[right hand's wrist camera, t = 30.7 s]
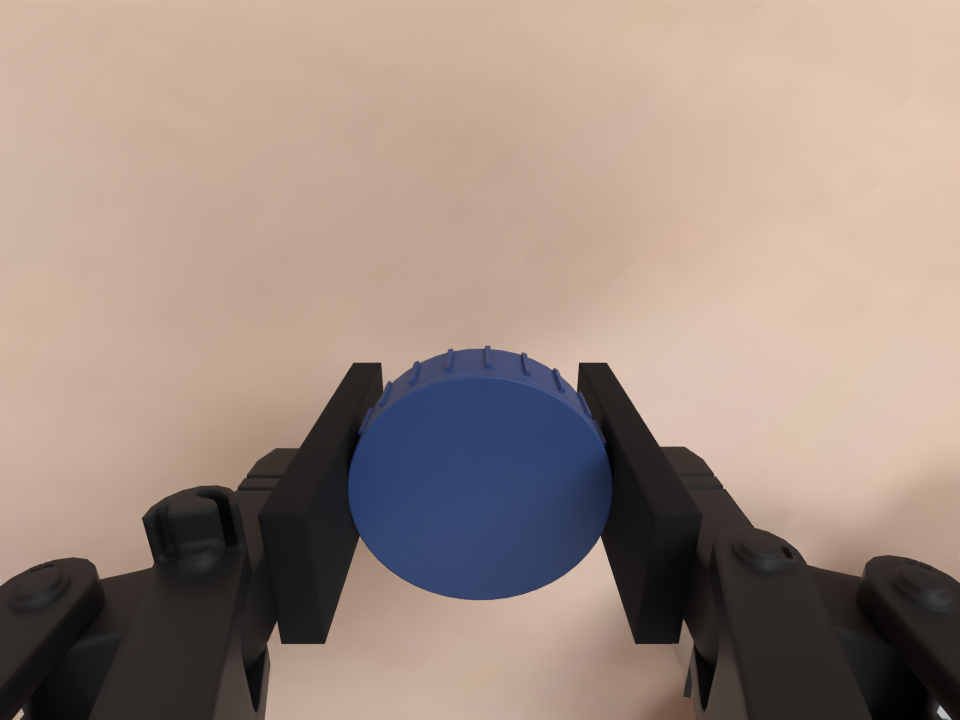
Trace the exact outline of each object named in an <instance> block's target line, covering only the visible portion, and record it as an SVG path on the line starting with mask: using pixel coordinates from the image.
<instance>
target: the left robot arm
mask: <svg viewBox="0 0 960 720" xmlns="http://www.w3.org/2000/svg"><path fill="white" fill-rule="evenodd" d="M937 713H938V714H939V716H940V717H941V718H942V719H943V720H951V718H950V717H949V716H948V715H947V713H946V712H945V711H944V710H943V708H942V707H941V706H940V707H939V709H938V711H937Z"/></svg>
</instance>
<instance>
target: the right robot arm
mask: <svg viewBox="0 0 960 720" xmlns="http://www.w3.org/2000/svg"><path fill="white" fill-rule="evenodd" d="M579 391H580V392H581V393H582V394H583V397H584V399H585V401H586V403H587V406H588V408H589V410H590V412H591V415H592V416H591V418H592V420H594V419H596V420H597V422H598V425H599V427H600V429H601V431H602V434H603V436H604V438H605V440H606V442H607V445H608V447H605V450H606V453H607V455H608V458H609V462H610V466H611V470H612V477H613V491H612V501H611V509H610V514H609V517H608V520H607V522H606V525H605V527H604V530H603V532H602V534H601V538H602V541H603V544H604V548H605V551H606V554H607V557H608V560H609V563H610V566H611V569H612V572H613V576H614V579H615V582H616V585H617V588H618V591H619V594H620V597H621V600H622V603H623V607H624V610H625V613H626V616H627V619H628V622H629V625H630V628H631V631H632V634H633V638H634V641H635V644H679V640H680V635H681V630H682V624H683V619H684V621H685V623H686V625H687V628H688V630H689V632H690V634H691V637H692V639H693V641H694V643H693V648H692V653H691V658H690V663H689V668H688V673H687V678H686V683H685V689H684V695H683V696H684V697H688V698H690V697H691V692H692V690H693V699H694V708H695V718H696V720H943V719H942V718H941V717H940V716H939V714H938V713H937V711H938V709H939V707H940V706H941V707H942V708H943V710H944V711H945V712H946V713H947V715H948V716H949V717H950V718H951V720H960V583H959V582H957V581H956V580H955V579H953V578H952V577H951V576H949V575H947V574H945V573H943V572H941V571H939V570H937V569H935V568H934V567H932V566H930V565H928V564H925V563H922V562H918V561H916V560H912V559H909V558H904V557H897V556H890V555H886V556H879V557H874V558H872V559H871V560H870V561H868V562H867V563H866V565H865V568H864V571H863V574H862V577H857V576H852V575H847V574H843V573H838V572H834V571H829V570H825V569H820V568H816V567H813V566H809V565H807V564H806V561H805V560H804V559H803V557H802V556H801V554H800V553H799V552H798V550H797V549H795V548H794V547H793V546H792V545H790V544H789V543H788V542H787V541H785V540H784V539H782V538H780V537H778V536H776V535H774V534H772V533H770V532H767V531H764V530H760V529H756V528H754V526H753V525H752V524H751V523H750V521H749V520H748V519H747V517H746V516H745V515H744V513H743V512H742V511H741V509H740V508H739V507H738V505H737V504H736V503H735V501H734V500H733V499H732V497H731V496H730V495H729V493H728V492H727V491H726V489H723V485H722V484H721V483H720V481H719V480H718V479H717V477H714V473H713V472H712V471H711V469H710V468H709V467H708V465H707V464H706V463H705V461H704V460H703V459H702V458H700V457H699V456H697V455H696V454H694V453H693V452H691V451H690V450H688V449H687V448H685V447H660V446H659V445H658V443H657V442H656V440H655V438H654V437H653V435H652V434H651V432H650V431H649V429H648V427H647V426H646V424H645V423H644V421H643V419H642V418H641V416H640V415H639V413H638V412H637V410H636V408H635V407H634V405H633V404H632V402H631V400H630V399H629V397H628V396H627V394H626V393H625V391H624V389H623V388H622V386H621V385H620V383H619V381H618V380H617V378H616V377H615V375H614V373H613V372H612V370H611V369H610V367H609V366H608V364H607V363H579V372H578V386H577V393H578V392H579ZM382 394H383V381H382V368H381V363H353V365H352V366H351V368H350V369H349V371H348V372H347V374H346V376H345V377H344V379H343V380H342V382H341V384H340V385H339V387H338V388H337V390H336V391H335V393H334V395H333V396H332V398H331V399H330V401H329V403H328V404H327V406H326V407H325V409H324V410H323V412H322V414H321V415H320V417H319V418H318V420H317V422H316V423H315V425H314V426H313V428H312V430H311V431H310V433H309V434H308V436H307V437H306V439H305V441H304V442H303V444H302V445H301V447H300V448H276V449H275V450H273V451H272V452H270V453H269V454H267V455H266V456H264V457H263V458H261V459H260V460H258V461H257V462H256V464H255V465H254V466H253V468H252V469H251V470H250V472H249V473H248V474H247V478H245V479H244V480H243V481H242V483H241V484H240V485H239V487H238V490H237V491H235V492H233V491H232V490H231V489H230V488H226V487H221V486H217V485H215V486H199V487H195V488H191V489H186V490H182V491H180V492H178V493H175V494H173V495H171V496H168V497H166V498H164V499H163V500H161V501H160V502H158V503H157V504H155V505H154V506H152V507H151V508H150V509H149V510H148V512H147V513H146V514H145V515H144V516H143V518H142V520H143V523H144V527H145V531H146V534H147V538H148V541H149V545H150V548H151V552H152V555H153V559H154V565H153V567H152V568H148V569H145V570H141V571H137V572H132V573H128V574H123V575H118V576H114V577H109V578H105V579H99V576H98V573H97V570H96V567H95V565H94V564H92V563H91V562H90V561H89V560H87V559H81V558H73V557H72V558H65V559H58V560H53V561H50V562H46V563H44V564H40V565H37V566H34V567H32V568H30V569H28V570H26V571H24V572H22V573H20V574H18V575H17V576H15V577H13V578H11V579H10V580H8V581H7V582H6V583H4V584H3V585H2V586H0V720H12V719H13V718H14V717H15V715H16V714H17V713H18V712H19V710H20V709H21V708H22V710H23V712H24V715H23V717H22V718H21V719H20V720H264V719H265V710H266V700H267V691H268V682H269V672H270V659H269V653H268V648H267V642H268V640H269V638H270V635H271V633H272V631H273V629H274V626H275V624H276V622H278V628H279V633H280V639H281V644H325V642H326V639H327V635H328V632H329V629H330V626H331V623H332V620H333V617H334V614H335V611H336V608H337V604H338V601H339V598H340V595H341V592H342V589H343V586H344V583H345V580H346V576H347V573H348V570H349V567H350V564H351V561H352V558H353V555H354V552H355V549H356V545H357V542H358V539H359V536H360V535H359V532H358V530H357V528H356V526H355V524H354V521H353V518H352V515H351V511H350V506H349V497H348V474H349V468H350V463H351V460H352V457H353V454H354V451H355V449H356V446H357V444H358V442H359V439H360V437H361V435H359V434H358V432H359V430H360V427H361V425H362V423H363V421H364V419H365V416H366V414H367V412H368V410H369V408H372V409H374V407H375V405H376V403H377V401H378V400H379V399H380V397H381V396H382Z"/></svg>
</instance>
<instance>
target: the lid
mask: <svg viewBox="0 0 960 720" xmlns="http://www.w3.org/2000/svg"><path fill="white" fill-rule="evenodd" d="M591 416H592V415H591V412H590V410H589V408H588V406H587V403H586V401H585V399H584V397H583V394H582V393H581V392H580V391H579V392H578V393H576V391H575V390H574V389H573V388H572V386H571V385H570V384H568V383H567V382H566V381H565V380H564V379H563V378H562V377H561V376H560V374H559V371H558V370H557V369H556V368H554V369H553V370H551V369H550V368H548V367H547V366H545V365H543V364H541V363H539V362H537V361H535V360H533V359H530V358H527V354H526V353H523V352H522V354H521V355H519V354H516V353H511V352H507V351H502V350H493V349H490V346H485V349H466V350H460V351H453V349H448V353H445V354H442V355H438V356H435V357H433V358H431V359H428V360H426V361H424V362H421V363H419V361H416V362H415V363H414V365H413V368H411V369H409V370H408V371H406V372H405V373H404V374H402V375H401V376H400V377H399V378H397V379H396V380H395V381H394V382H393V383H391V382H390V381H389V382H388V383H387V384H386V387H385V389H384V392H383V394H382V396H381V397H380V399H379V400H378V401H377V403H376V405H375V407H374V409H372V408H369V410H368V412H367V414H366V416H365V419H364V421H363V423H362V425H361V427H360V430H359V432H358V434H359V435H361V437H360V439H359V442H358V444H357V446H356V449H355V451H354V454H353V457H352V460H351V463H350V468H349V474H348V497H349V506H350V511H351V515H352V518H353V521H354V524H355V526H356V528H357V530H358V532H359V535H360V537H361V538H362V540H363V541H364V543H365V544H366V546H367V547H368V549H369V550H370V551H371V552H372V553H373V554H374V556H375V557H376V558H377V559H378V560H379V561H380V562H381V563H382V564H383V565H384V566H386V567H387V568H388V569H389V570H390V571H392V572H393V573H395V574H396V575H397V576H399V577H400V578H402V579H404V580H405V581H407V582H409V583H411V584H413V585H415V586H417V587H419V588H422V589H424V590H427V591H429V592H432V593H436V594H439V595H443V596H447V597H453V598H458V599H468V600H494V599H502V598H509V597H513V596H517V595H522V594H525V593H528V592H531V591H534V590H537V589H539V588H541V587H543V586H546V585H548V584H550V583H552V582H554V581H555V580H557V579H558V578H560V577H562V576H563V575H565V574H566V573H567V572H569V571H570V570H571V569H573V568H574V567H575V566H576V565H577V564H578V563H579V562H580V561H581V560H582V559H583V558H584V557H585V556H586V555H587V554H588V553H589V552H590V550H591V549H592V548H593V546H594V545H595V544H596V542H597V541H598V539H599V537H600V535H601V534H602V532H603V530H604V527H605V525H606V522H607V520H608V517H609V514H610V509H611V501H612V491H613V477H612V470H611V466H610V462H609V458H608V455H607V453H606V450H605V447H608V445H607V442H606V440H605V438H604V436H603V434H602V431H601V429H600V427H599V425H598V422H597V420H596V419H594V420H592V418H591Z"/></svg>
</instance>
